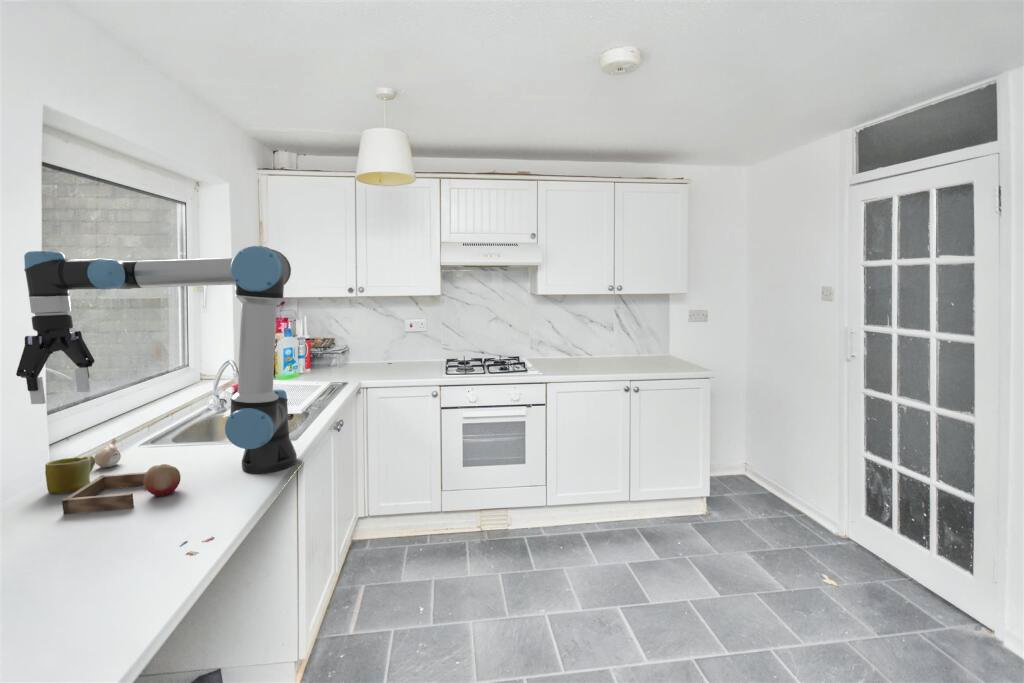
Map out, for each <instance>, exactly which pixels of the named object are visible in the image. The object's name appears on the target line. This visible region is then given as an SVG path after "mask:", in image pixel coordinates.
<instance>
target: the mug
mask: <svg viewBox="0 0 1024 683" xmlns="http://www.w3.org/2000/svg"><path fill="white" fill-rule="evenodd" d="M94 457H95V456H93V455H85V456H82V457H78V456H77V457H68V458H67V457H66V458H60V459H54V460H51V461H48V462H46V463H45V464H44V465H45V466H44V467H45V468H44V470H45V472H44V473H45V481H46V482H45V483H46V488H47V492H48V493H50V494H51V495H55V494H57V495H58V494H59V495H60V494H66V493H75V492H76V491H78V490H79V489H81V488H83V487H84V486H86V485H87V484H89V483H90V482H91V479H90V478H91V477H90V475H91V472H92V471H93V470H94V466H95V465H96V463H95V459H94Z"/></svg>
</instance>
